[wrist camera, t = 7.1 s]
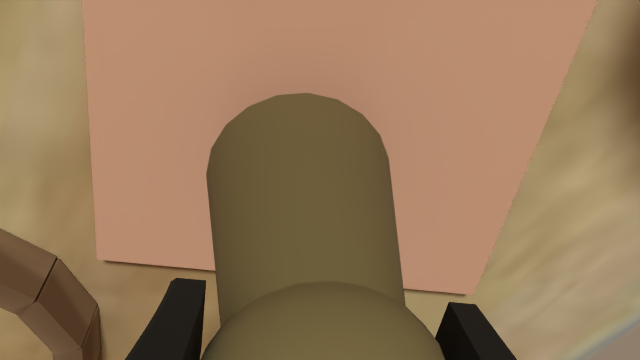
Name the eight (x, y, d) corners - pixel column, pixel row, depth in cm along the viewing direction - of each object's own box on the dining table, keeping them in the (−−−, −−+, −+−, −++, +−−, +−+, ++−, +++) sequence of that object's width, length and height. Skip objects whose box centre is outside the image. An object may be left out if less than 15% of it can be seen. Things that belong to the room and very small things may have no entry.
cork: (422, 132, 19) (578, 419, 10) (342, 272, 22) (404, 609, 12) (245, 62, 18) (223, 325, 8) (181, 222, 20) (107, 566, 11)
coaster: (469, 282, 27) (473, 295, 26) (102, 246, 25) (96, 259, 24) (626, -103, 18) (639, -99, 17) (79, -204, 16) (70, -203, 15)
